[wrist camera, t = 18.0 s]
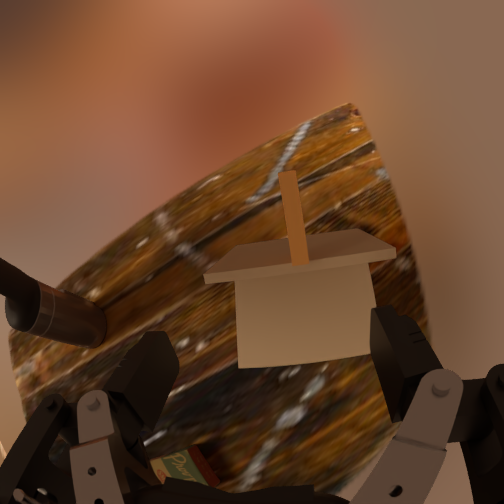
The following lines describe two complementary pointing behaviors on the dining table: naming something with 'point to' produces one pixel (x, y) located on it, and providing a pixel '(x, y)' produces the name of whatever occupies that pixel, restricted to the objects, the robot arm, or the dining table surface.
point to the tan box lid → (298, 247)
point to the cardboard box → (304, 316)
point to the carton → (185, 466)
